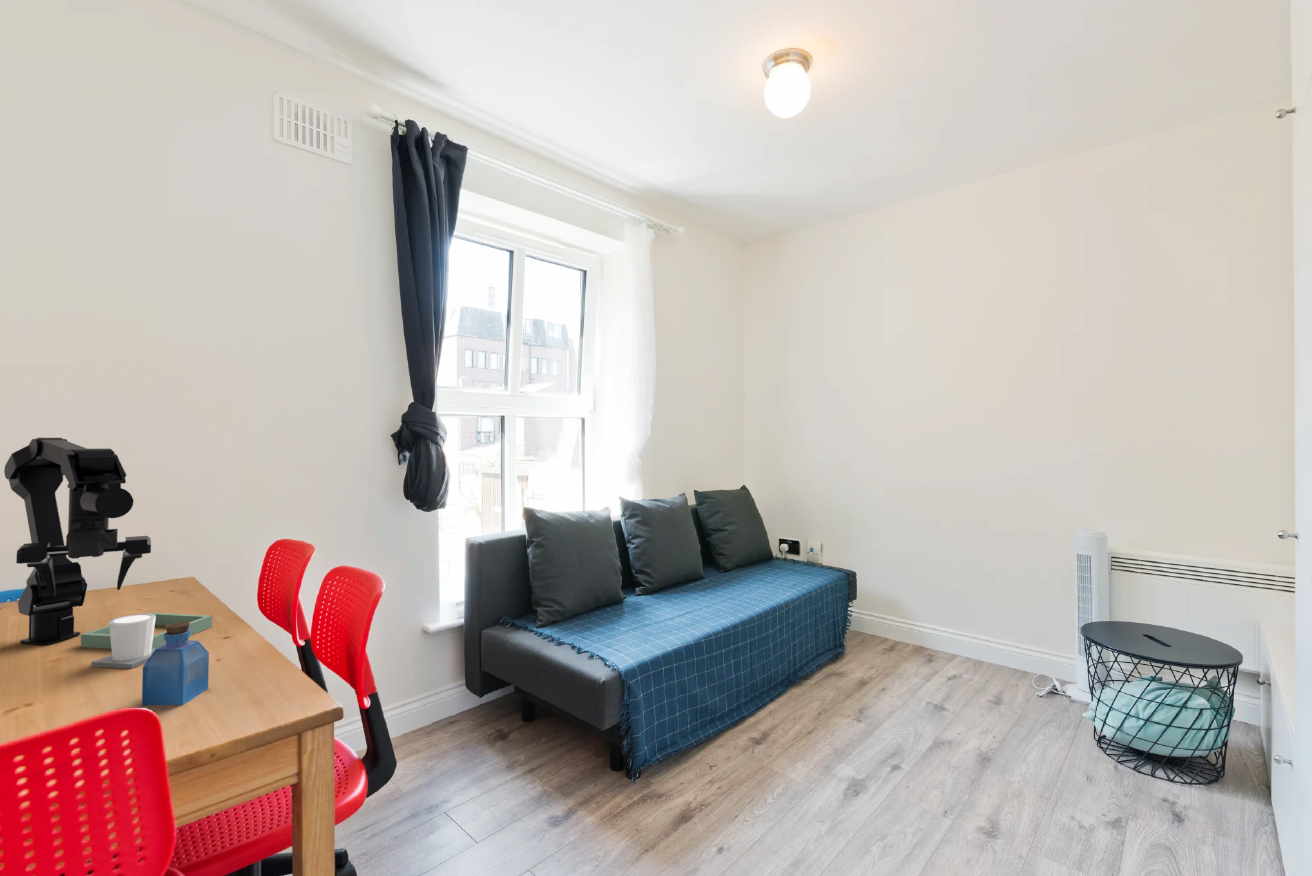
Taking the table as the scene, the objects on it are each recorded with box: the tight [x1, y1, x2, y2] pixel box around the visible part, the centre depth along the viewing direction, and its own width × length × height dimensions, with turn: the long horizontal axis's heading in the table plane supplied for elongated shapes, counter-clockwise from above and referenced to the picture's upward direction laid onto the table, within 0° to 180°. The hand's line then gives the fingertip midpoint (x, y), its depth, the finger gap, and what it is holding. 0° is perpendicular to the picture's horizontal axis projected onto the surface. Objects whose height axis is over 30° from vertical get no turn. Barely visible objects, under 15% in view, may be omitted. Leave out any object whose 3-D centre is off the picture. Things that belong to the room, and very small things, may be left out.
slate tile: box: [90, 648, 157, 669], centre depth 115 cm, size 8×8×1 cm
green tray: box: [80, 612, 213, 650], centre depth 128 cm, size 15×15×2 cm
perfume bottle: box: [141, 622, 210, 706], centre depth 100 cm, size 6×6×12 cm
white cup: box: [108, 613, 156, 661], centre depth 115 cm, size 7×7×7 cm
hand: (86, 593), depth 117 cm, fingers open, 9 cm apart
